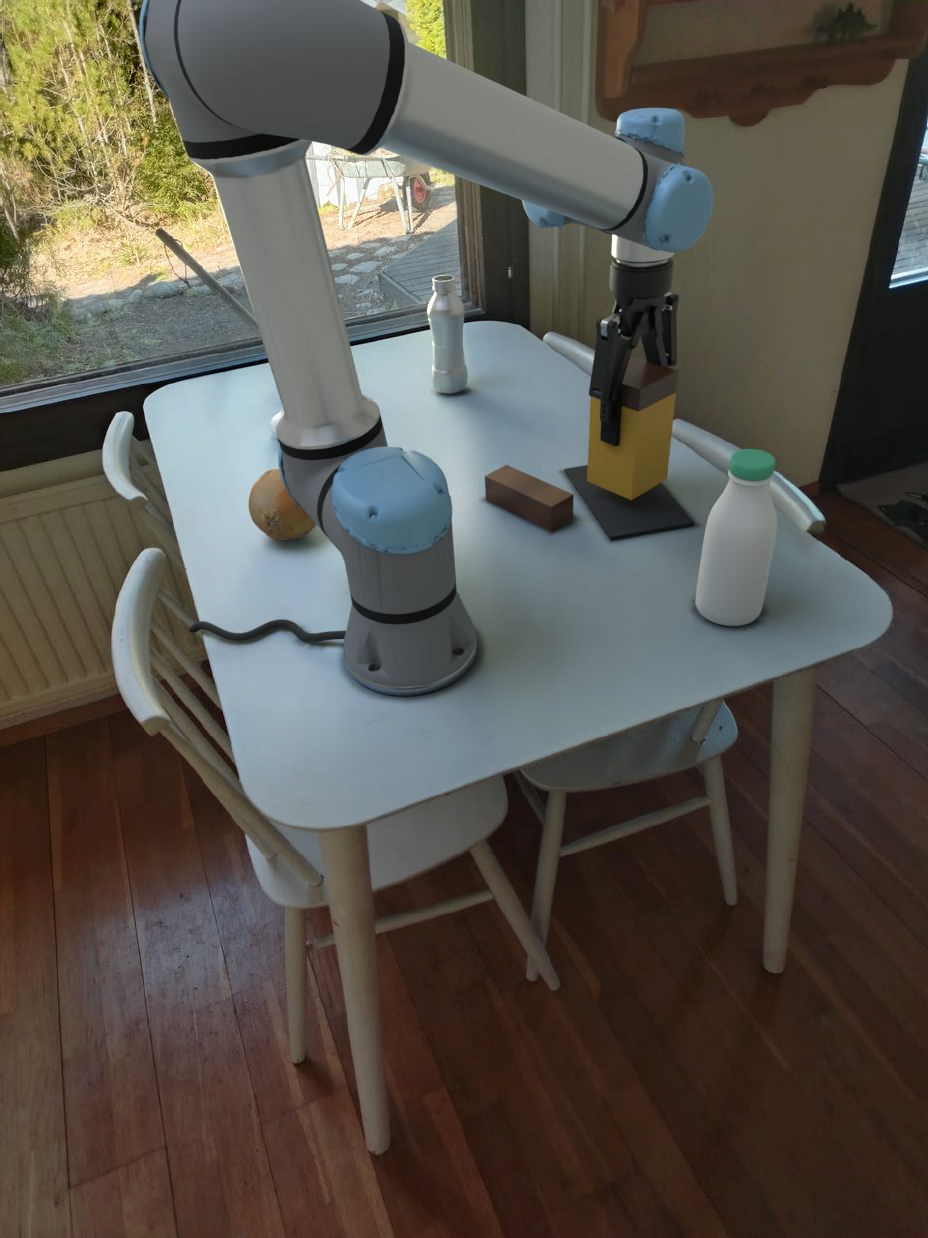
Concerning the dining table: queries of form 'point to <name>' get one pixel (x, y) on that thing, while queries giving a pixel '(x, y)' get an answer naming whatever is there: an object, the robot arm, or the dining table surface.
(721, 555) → the milk bottle
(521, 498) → the walnut block
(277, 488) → the onion
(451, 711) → the dining table surface
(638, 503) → the mat
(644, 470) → the tea tin
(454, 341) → the plastic bottle
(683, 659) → the dining table surface
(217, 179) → the robot arm
